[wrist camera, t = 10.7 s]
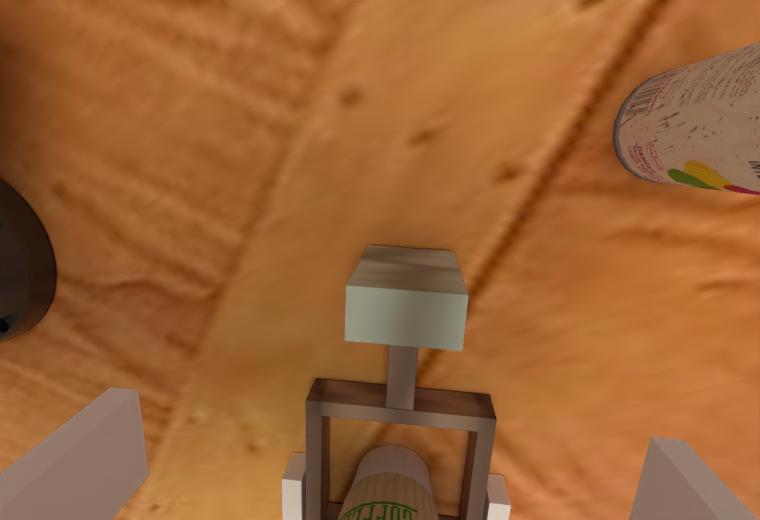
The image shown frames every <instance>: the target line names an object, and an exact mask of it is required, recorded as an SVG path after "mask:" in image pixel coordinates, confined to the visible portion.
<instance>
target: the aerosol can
mask: <svg viewBox="0 0 760 520" xmlns="http://www.w3.org/2000/svg"><path fill="white" fill-rule="evenodd" d="M613 141H614V146H615V150H616V155H617V156H618V158H619V159H620V161H621V162H622V164H623V166H624V167H625V168H626V169H627V170H629V171H630V172H631V173H633V174H634V175H635V176H637V177H639V178H642V179H646V180H649V181H652V182H660V183H667V184H675V185H683V186H691V187H699V188H707V189H715V190H723V191H731V192H739V193H747V194H755V195H760V42H757V43H754V44H751V45H748V46H745V47H742V48H739V49H736V50H732V51H729V52H726V53H723V54H720V55H717V56H714V57H711V58H708V59H705V60H702V61H699V62H696V63H693V64H690V65H686V66H683V67H680V68H677V69H674V70H671V71H668V72H665V73H663V74H660V75H657V76H655V77H652V78H649V79H648V80H647V81H645V82H644V83H643V84H641V85H640V86H639V87H637V88H636V89H634V90H633V92H632V93H631V94H630V95H629V97H628V98H627V99H626V100H625V102H624V103H623V104H622V106H621V108H620V111H619V113H618V115H617V118H616V120H615V124H614V134H613Z"/></svg>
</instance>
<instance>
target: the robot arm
mask: <svg viewBox="0 0 760 520" xmlns="http://www.w3.org/2000/svg"><path fill="white" fill-rule="evenodd" d="M54 285H55V267H54V260H53V255H52V251H51V248H50V245H49V242H48V239H47V237H46V234H45V232H44V230H43V228H42V226H41V224H40V223H39V221H38V219H37V218H36V216H35V215H34V213H33V212H32V210H31V209H30V208H29V206H28V205H27V204H26V203H25V202H24V200H23V199H22V198H21V197H20V196H19V195H18V194H17V193H16V192H15V191H14V190H13V189H12V188H10V187H9V186H8V185H7V184H6V183H4V182H3V181H2V180H0V343H1V342H3V341H6V340H8V339H10V338H12V337H15V336H17V335H19V334H21V333H23V332H25V331H27V330H29V329H30V328H31V327H33V326H34V325H35V324H36V323H37V322H38V321H39V320H40V319H41V318H42V317H43V315H44V314H45V312H46V310H47V309H48V307H49V304H50V302H51V299H52V296H53V292H54ZM148 475H149V470H148V463H147V455H146V447H145V440H144V432H143V424H142V417H141V409H140V401H139V393H138V390H136V389H125V388H114V387H110V388H109V389H108V390H106V391H105V392H104V393H103V394H101V395H100V396H99V397H97V398H96V399H95V400H94V401H92V402H91V403H90V404H89V405H87V406H86V407H85V408H83V409H82V410H81V411H80V412H78V413H77V414H76V415H74V416H73V417H72V418H71V419H69V420H68V421H67V422H65V423H64V424H63V425H62V426H60V427H59V428H58V429H56V430H55V431H54V432H53V433H51V434H50V435H49V436H47V437H46V438H45V439H44V440H42V441H41V442H40V443H39V444H37V445H36V446H35V447H33V448H32V449H31V450H30V451H28V452H27V453H26V454H24V455H23V456H22V457H21V458H19V459H18V460H17V461H15V462H14V463H13V464H12V465H10V466H9V467H8V468H6V469H5V470H4V471H3V472H1V473H0V520H112V519H113V518H114V517H115V516H116V515H117V513H118V512H119V511H120V510H121V508H122V507H123V506H124V505H125V504H126V502H127V501H128V500H129V499H130V497H131V496H132V495H133V494H134V493H135V491H136V490H137V489H138V488H139V486H140V485H141V484H142V483H143V482H144V480H145V479H146V478H147V477H148ZM629 520H758V519H757V518H756V517H755V516H754V514H753V513H752V512H751V511H750V510H749V509H748V508H747V507H746V506H745V505H744V504H743V503H742V502H741V501H740V499H739V498H738V497H737V496H736V495H735V494H734V493H733V492H732V491H731V490H730V489H729V488H728V487H727V485H726V484H725V483H724V482H723V481H722V480H721V479H720V478H719V477H718V476H717V475H716V474H715V473H714V472H713V470H712V469H711V468H710V467H709V466H708V465H707V464H706V463H705V462H704V461H703V460H702V459H701V458H700V457H699V455H698V454H697V453H696V452H695V451H694V450H693V449H692V448H691V447H690V446H689V445H688V444H687V443H686V441H685V440H680V439H670V438H659V437H651V439H650V443H649V447H648V451H647V454H646V458H645V462H644V466H643V469H642V473H641V477H640V481H639V484H638V488H637V492H636V496H635V499H634V503H633V507H632V511H631V514H630V518H629Z"/></svg>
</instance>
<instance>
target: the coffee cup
mask: <svg viewBox="0 0 760 520" xmlns="http://www.w3.org/2000/svg"><path fill="white" fill-rule="evenodd" d="M338 520H439V518H438V513H437V507H436V504H435V501H434V499H433V494H432V488H431V483H430V477H429V471H428V468H427V465H426V463H425V462H424V460H423V459H422V458H421V457H420V456H419V455H418V454H417V453H415V452H414V451H412V450H410V449H408V448H406V447H403V446H399V445H383V446H379V447H376V448H374V449H372V450H370V451H369V452H368V453H366V455H365V456H364V457H363V458H362V460H361V461H360V464H359V466H358V469H357V472H356V475H355V478H354V481H353V484H352V487H351V488H350V490H349V492H348V494H347V495H346V498H345V501H344V504H343V506H342V509H341V512H340V515H339V518H338Z"/></svg>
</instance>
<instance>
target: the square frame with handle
mask: <svg viewBox="0 0 760 520" xmlns="http://www.w3.org/2000/svg"><path fill="white" fill-rule="evenodd" d="M468 296H469V295H468V292H467V289H466V286H465V283H464V280H463V277H462V274H461V271H460V268H459V265H458V263H457V260H456V257H455V254H454V251H445V250H430V249H415V248H400V247H386V246H371V245H368V247H367V249H366V250H365V252H364V254H363V256H362V258H361V259H360V261H359V263H358V265H357V267H356V269H355V270H354V272H353V274H352V276H351V278H350V279H349V281H348V283H347V285H346V305H345V341H352V342H363V343H375V344H387V345H389V362H388V380H387V385H378V384H368V383H357V382H347V381H336V380H326V379H315V381H314V383H313V386H312V388H311V390H310V392H309V394H308V397H307V399H306V520H338V518H339V515H340V512H341V509H342V506H343V504H337V503H329V502H328V486H329V423H330V417H338V418H348V419H358V420H368V421H378V422H387V423H397V424H407V425H417V426H427V427H436V428H446V429H456V430H466V431H470V432H469V440H468V448H467V456H466V464H465V473H464V481H463V489H462V497H461V505H460V513H459V518H454V517H446V516H438V518H439V520H482V518H483V511H484V504H485V497H486V490H487V483H488V476H489V469H490V462H491V455H492V448H493V441H494V434H495V427H496V420H497V419H496V416H495V412H494V409H493V405H492V402H491V398H490V395H484V394H473V393H463V392H452V391H442V390H431V389H421V388H415V379H416V366H417V353H418V347H421V348H433V349H444V350H456V351H462V350H463V341H464V332H465V323H466V314H467V305H468Z"/></svg>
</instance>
